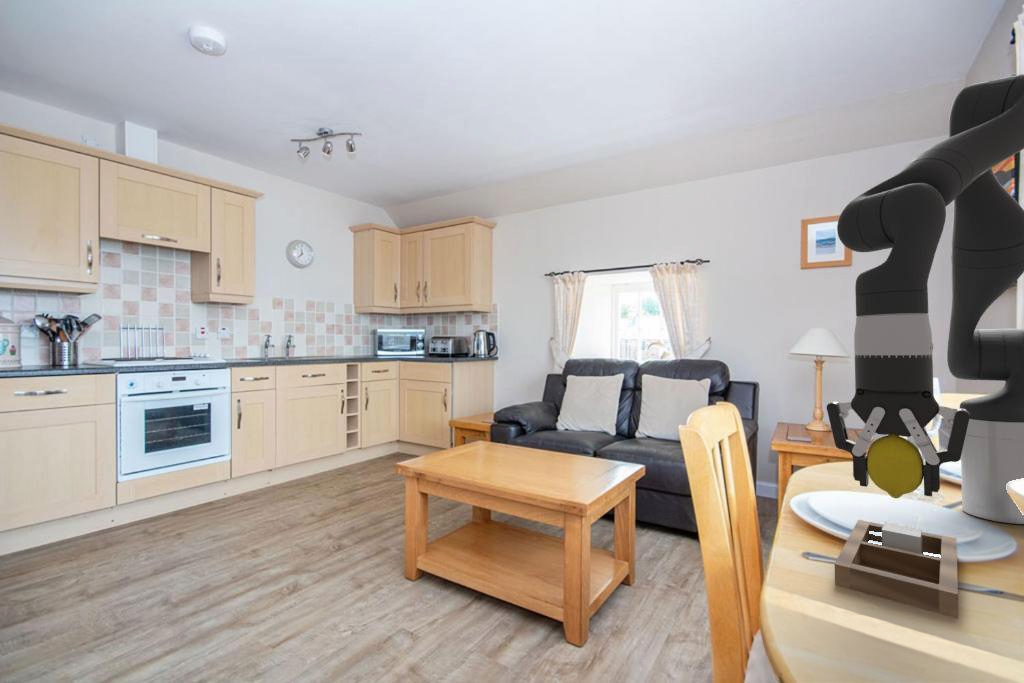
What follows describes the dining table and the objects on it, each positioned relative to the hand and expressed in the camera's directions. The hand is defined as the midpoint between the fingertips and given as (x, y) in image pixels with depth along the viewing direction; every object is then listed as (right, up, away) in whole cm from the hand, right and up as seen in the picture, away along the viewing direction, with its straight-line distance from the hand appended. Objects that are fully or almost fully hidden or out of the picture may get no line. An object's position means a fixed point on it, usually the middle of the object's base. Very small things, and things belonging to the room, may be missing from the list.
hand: (895, 489), depth 59 cm
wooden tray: (+3, -13, +3) cm, 14 cm away
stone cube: (+6, -11, +6) cm, 14 cm away
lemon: (0, -1, 0) cm, 1 cm away
